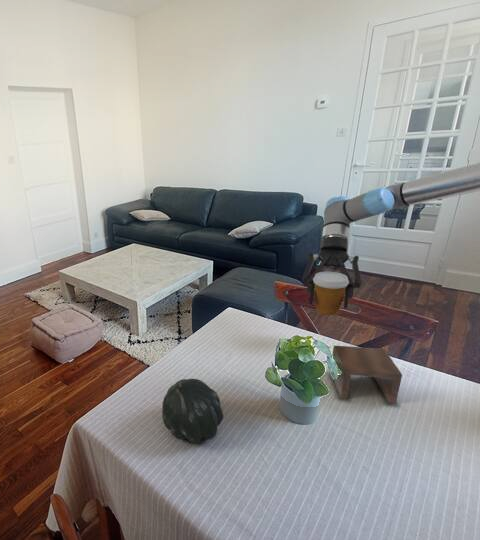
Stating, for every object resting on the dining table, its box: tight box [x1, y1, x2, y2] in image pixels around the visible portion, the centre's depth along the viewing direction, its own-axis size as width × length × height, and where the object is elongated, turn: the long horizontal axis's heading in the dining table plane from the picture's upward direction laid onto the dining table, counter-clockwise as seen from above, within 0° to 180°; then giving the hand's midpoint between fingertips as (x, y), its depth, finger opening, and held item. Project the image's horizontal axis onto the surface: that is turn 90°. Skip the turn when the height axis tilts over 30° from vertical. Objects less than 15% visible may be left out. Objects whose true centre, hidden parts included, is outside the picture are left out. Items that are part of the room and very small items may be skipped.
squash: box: [161, 378, 224, 444], centre depth 82 cm, size 14×15×15 cm
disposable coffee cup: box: [313, 271, 349, 317], centre depth 106 cm, size 10×10×12 cm
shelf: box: [331, 345, 403, 405], centre depth 90 cm, size 12×11×9 cm
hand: (328, 305), depth 104 cm, fingers closed on disposable coffee cup, 8 cm apart
